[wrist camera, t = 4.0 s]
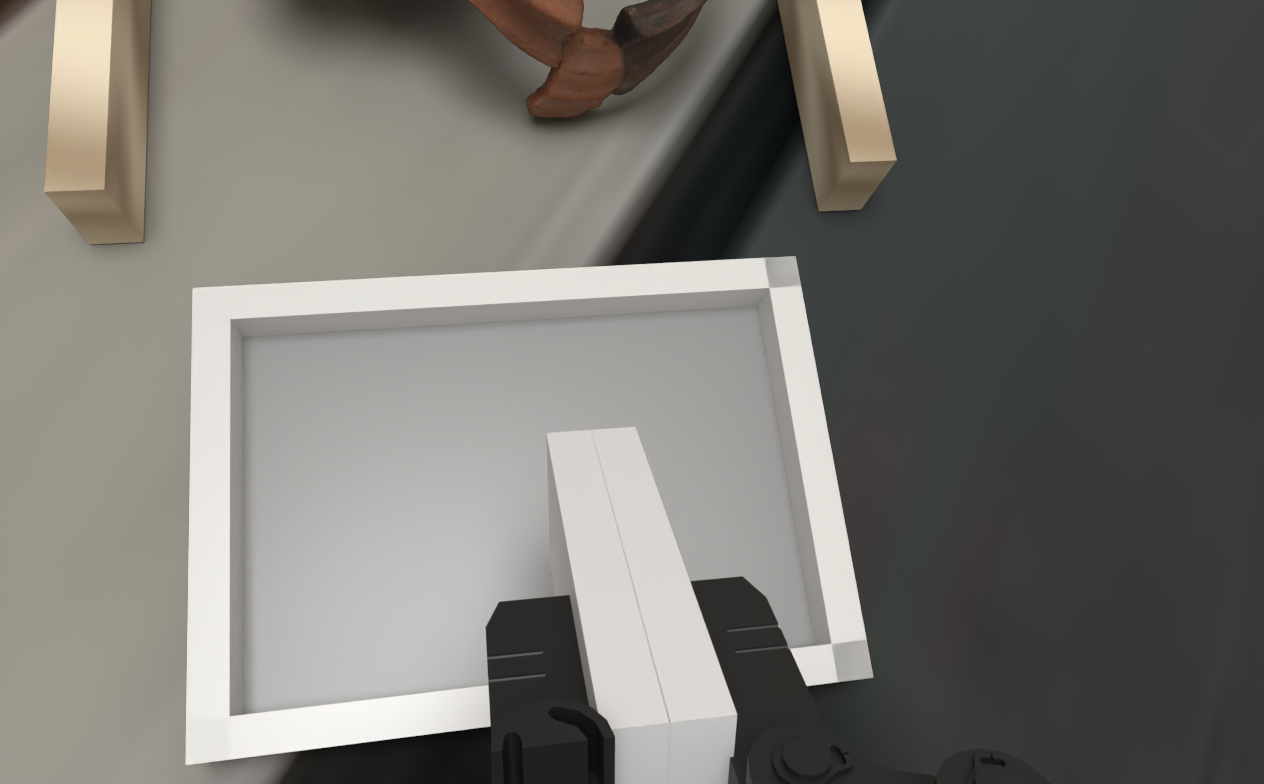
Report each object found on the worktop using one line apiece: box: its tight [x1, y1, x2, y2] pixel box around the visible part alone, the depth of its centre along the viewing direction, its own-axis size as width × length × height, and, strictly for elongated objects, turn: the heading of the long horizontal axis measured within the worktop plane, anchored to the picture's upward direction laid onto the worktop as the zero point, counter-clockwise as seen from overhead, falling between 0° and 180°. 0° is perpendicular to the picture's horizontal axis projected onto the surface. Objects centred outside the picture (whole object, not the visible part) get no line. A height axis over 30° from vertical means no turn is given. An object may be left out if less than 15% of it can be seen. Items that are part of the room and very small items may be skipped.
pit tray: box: [186, 256, 873, 765], centre depth 22 cm, size 10×14×2 cm
